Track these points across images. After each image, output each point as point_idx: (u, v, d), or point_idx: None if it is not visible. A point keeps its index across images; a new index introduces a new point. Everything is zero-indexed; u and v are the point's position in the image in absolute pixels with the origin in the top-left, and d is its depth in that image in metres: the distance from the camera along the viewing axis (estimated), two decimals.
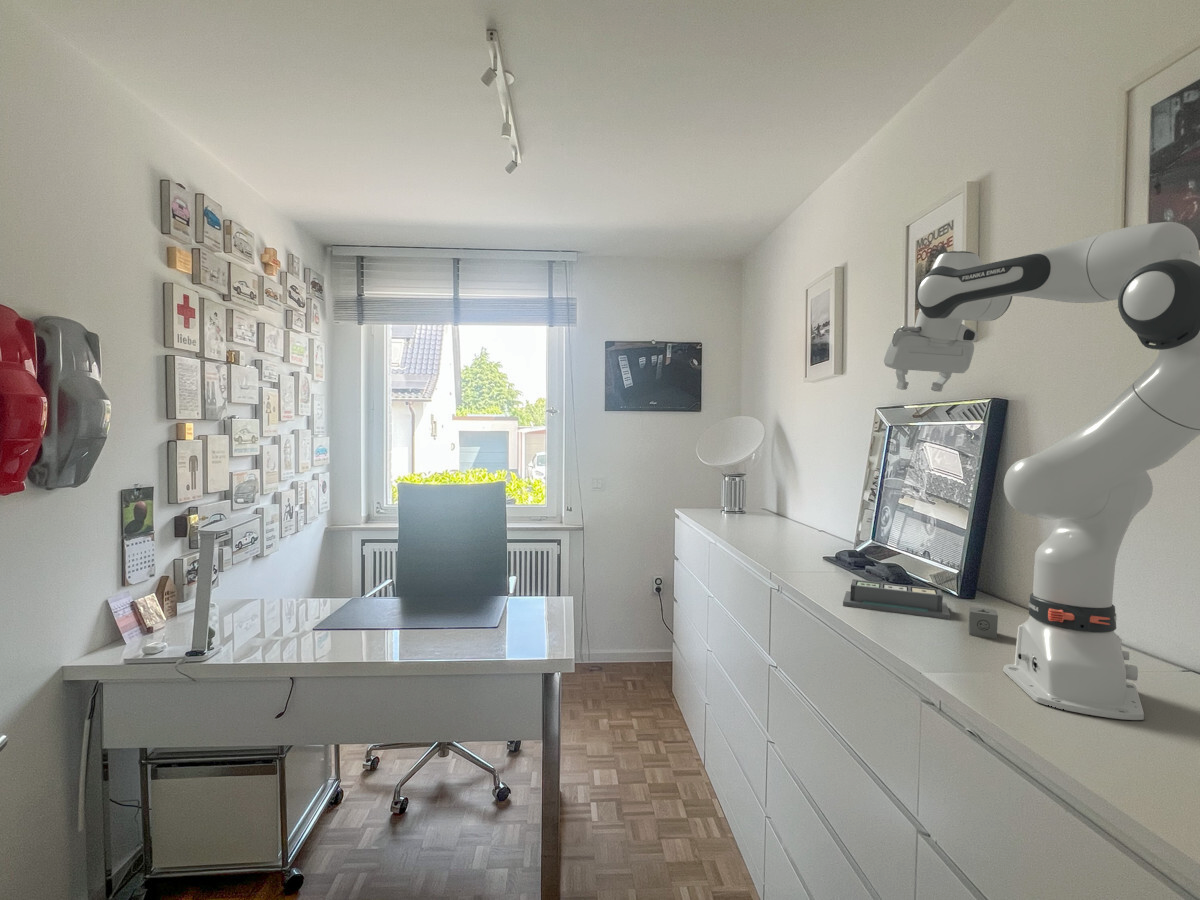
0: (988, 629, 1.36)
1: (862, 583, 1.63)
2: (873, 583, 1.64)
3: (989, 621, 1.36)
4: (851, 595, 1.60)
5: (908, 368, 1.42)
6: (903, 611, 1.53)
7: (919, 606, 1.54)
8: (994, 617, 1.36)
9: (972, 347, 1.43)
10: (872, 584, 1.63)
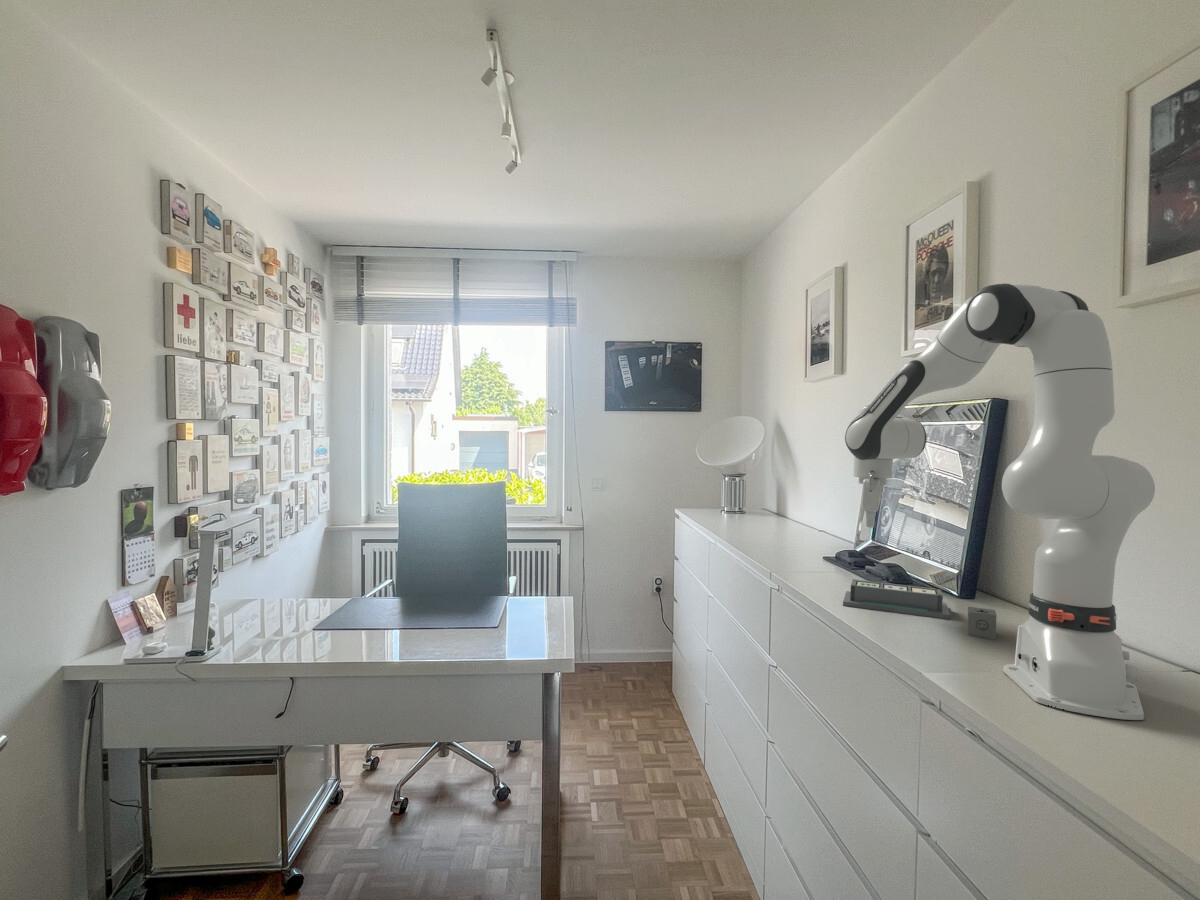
0: (986, 629, 1.36)
1: (862, 583, 1.63)
2: (873, 583, 1.64)
3: (988, 621, 1.36)
4: (851, 595, 1.60)
5: None
6: (903, 611, 1.53)
7: (919, 606, 1.54)
8: (993, 617, 1.36)
9: None
10: (872, 584, 1.63)
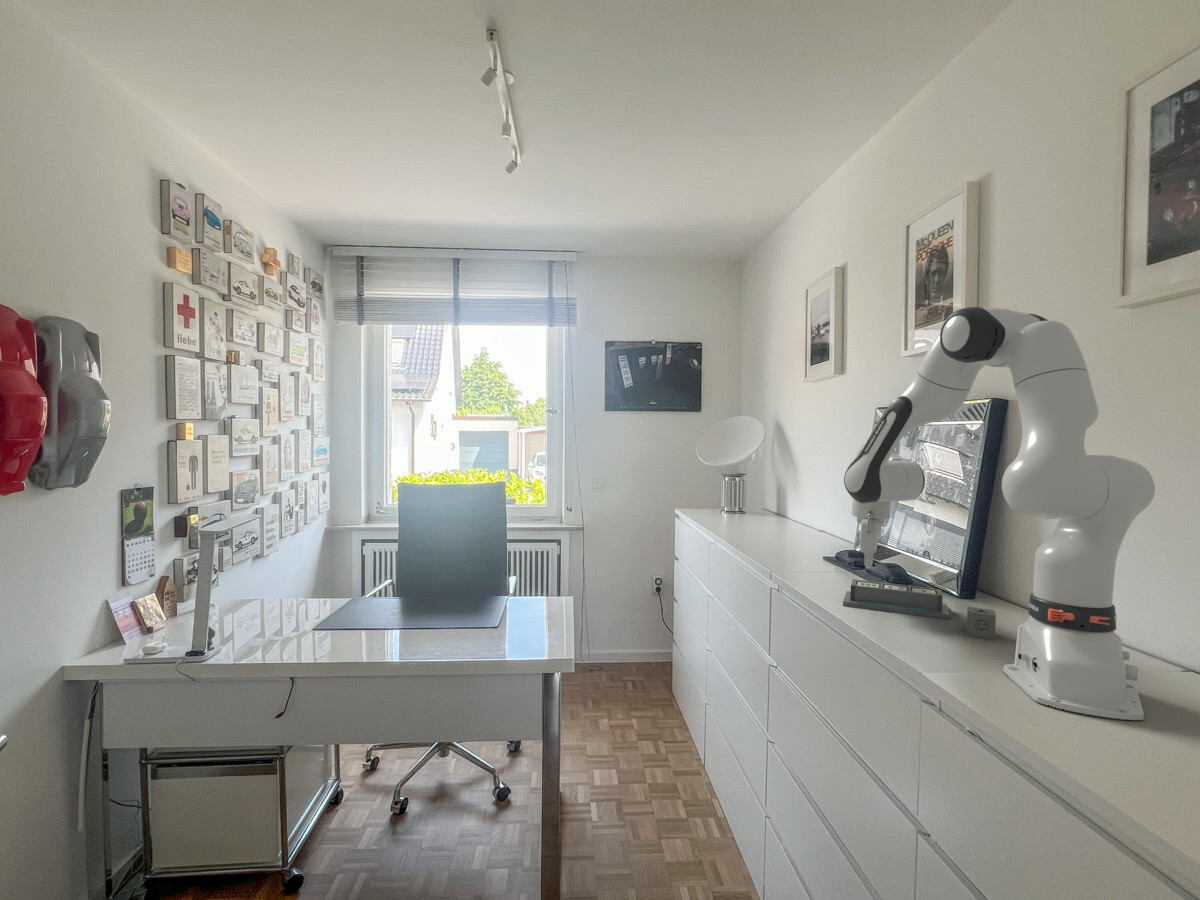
0: (986, 630, 1.36)
1: (862, 583, 1.63)
2: (873, 583, 1.64)
3: (987, 621, 1.36)
4: (851, 595, 1.60)
5: None
6: (903, 611, 1.53)
7: (919, 606, 1.54)
8: (992, 617, 1.36)
9: None
10: (872, 584, 1.63)
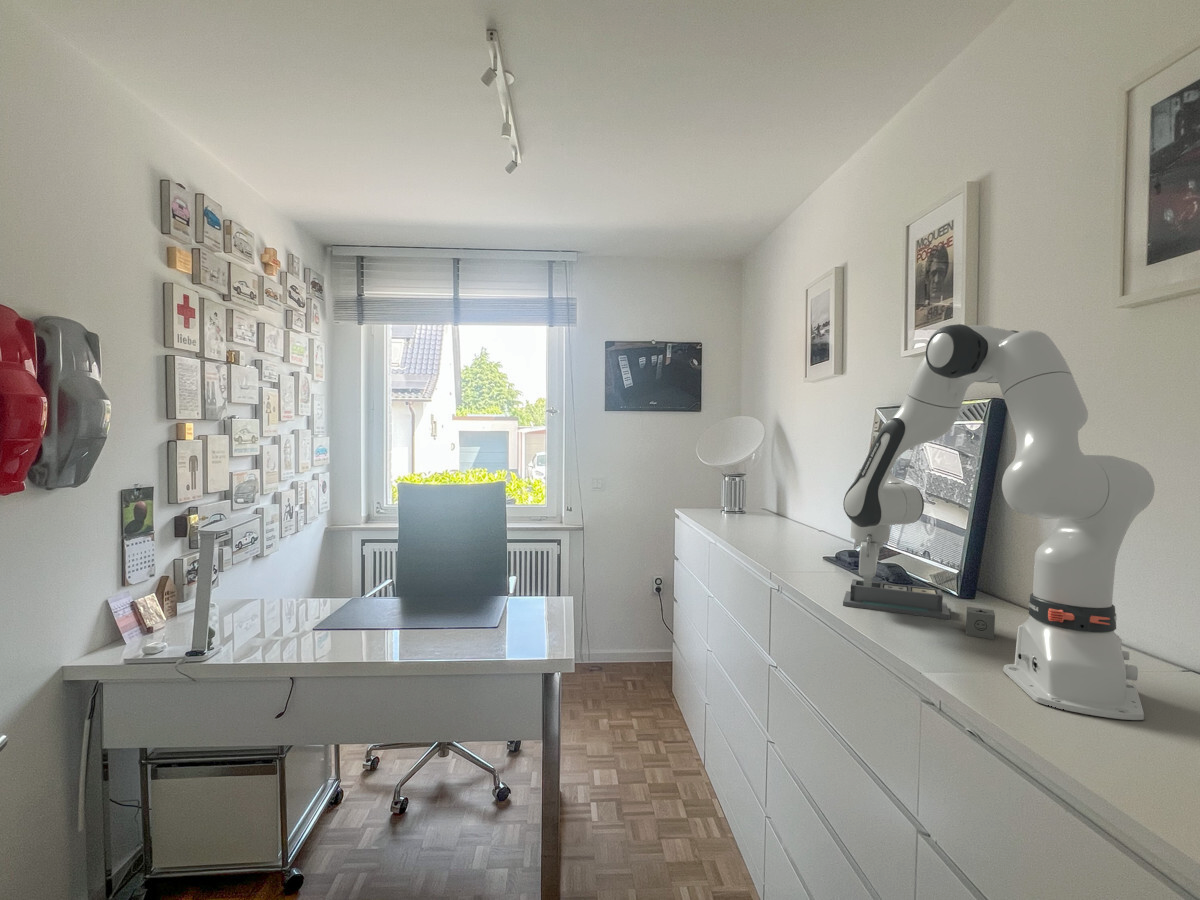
0: (985, 630, 1.36)
1: None
2: None
3: (986, 621, 1.36)
4: (851, 595, 1.60)
5: None
6: (903, 611, 1.53)
7: (919, 606, 1.54)
8: (991, 617, 1.36)
9: None
10: None
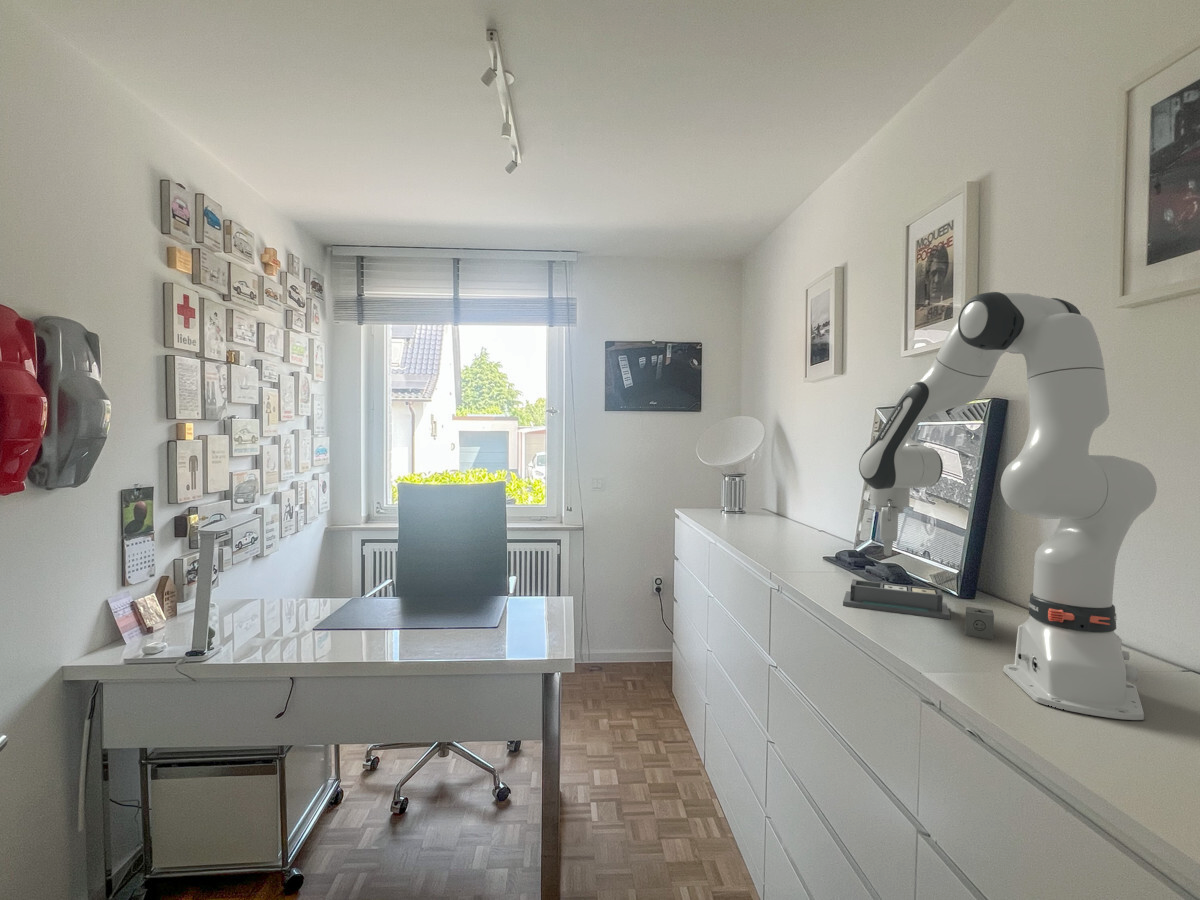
0: (984, 630, 1.36)
1: None
2: None
3: (985, 621, 1.36)
4: (851, 595, 1.60)
5: None
6: (903, 611, 1.53)
7: (919, 606, 1.54)
8: (990, 618, 1.35)
9: None
10: None
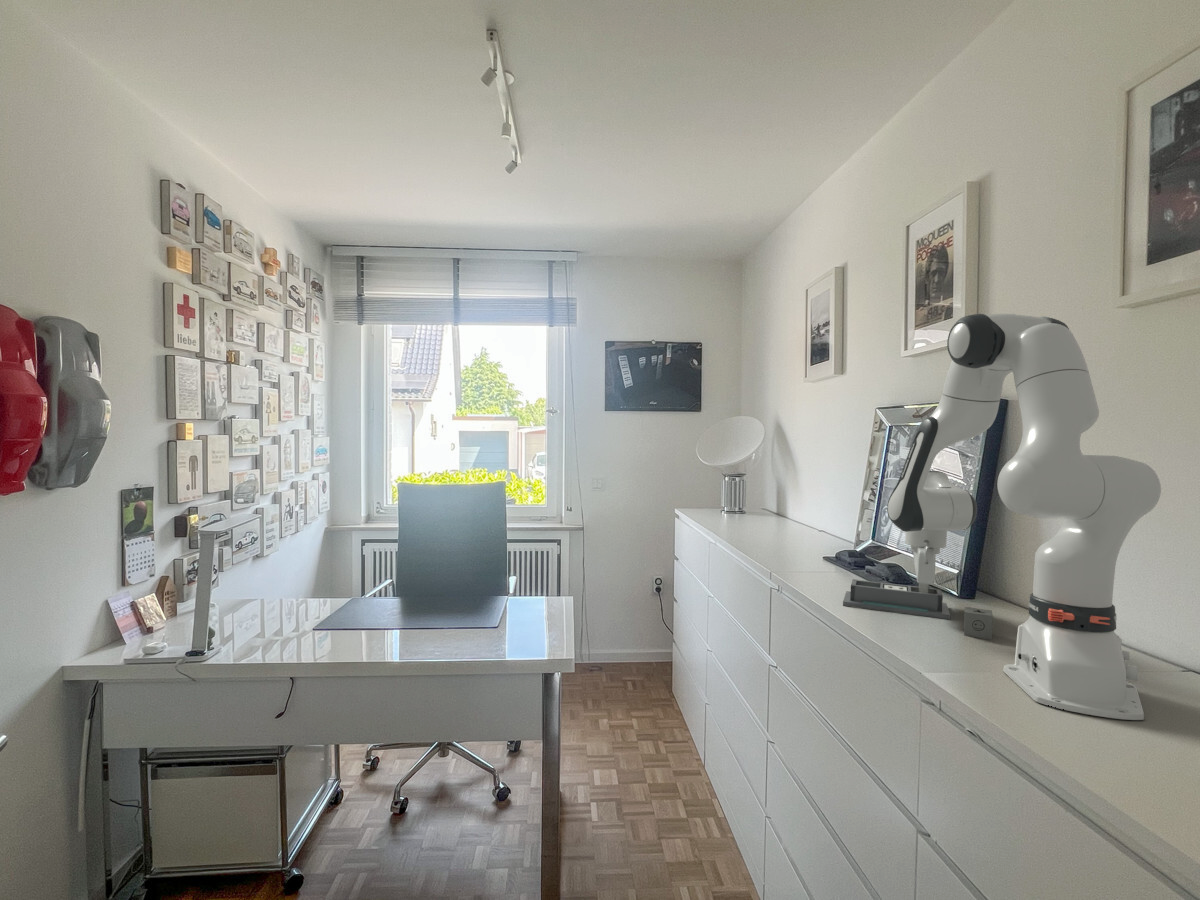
0: (983, 630, 1.36)
1: None
2: None
3: (984, 621, 1.36)
4: (851, 595, 1.60)
5: None
6: (903, 611, 1.53)
7: (919, 606, 1.54)
8: (989, 618, 1.35)
9: None
10: None
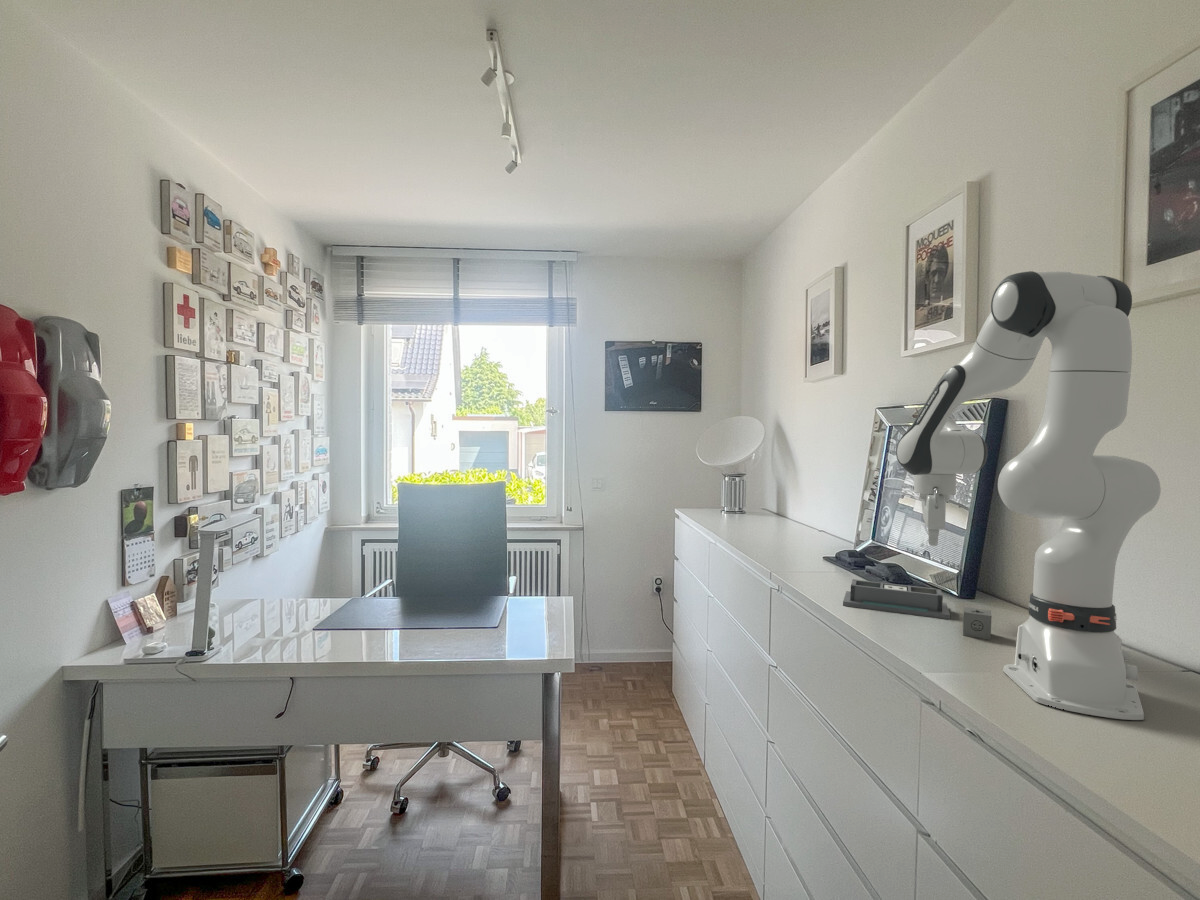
0: (981, 630, 1.36)
1: None
2: None
3: (983, 622, 1.36)
4: (851, 595, 1.60)
5: None
6: (903, 611, 1.53)
7: (919, 606, 1.54)
8: (988, 618, 1.35)
9: None
10: None
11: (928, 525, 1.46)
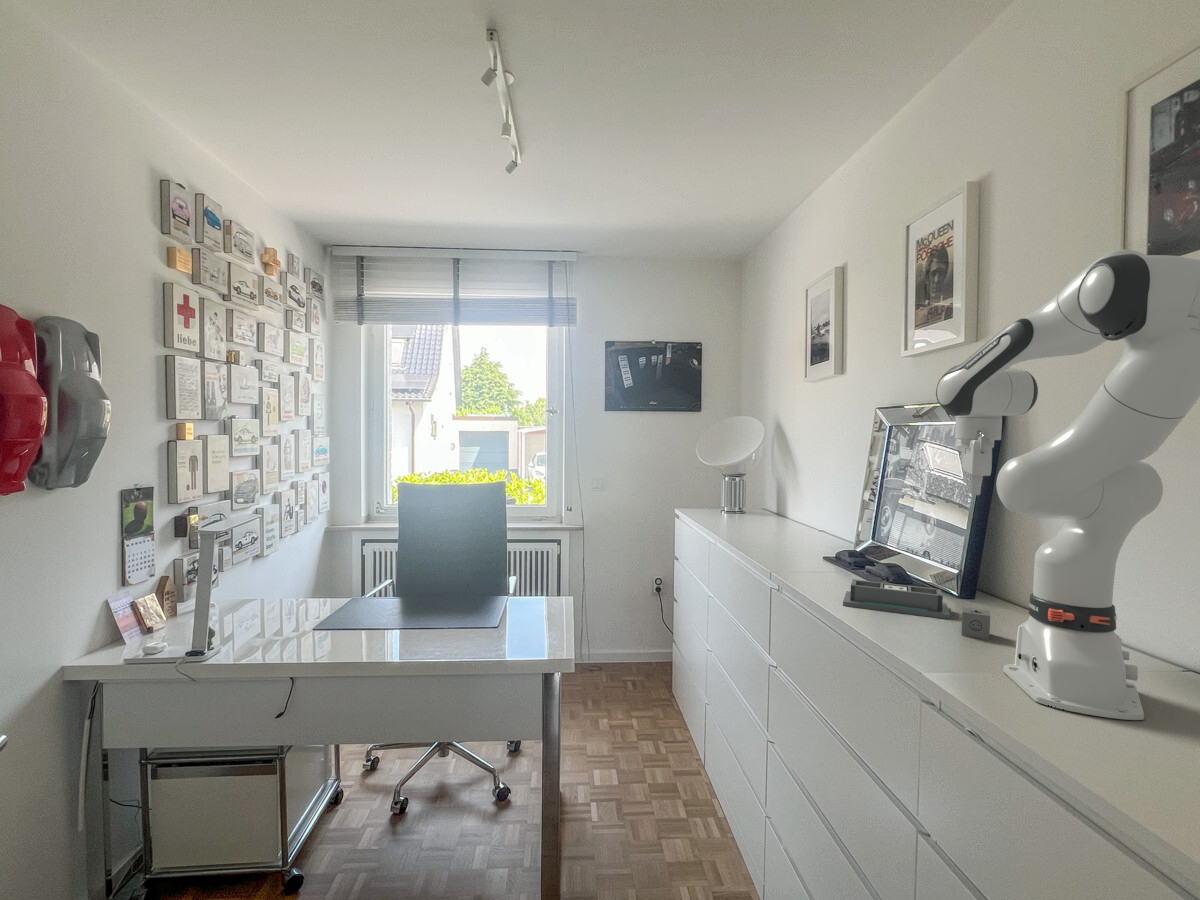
0: (980, 630, 1.36)
1: None
2: None
3: (981, 622, 1.36)
4: (851, 595, 1.60)
5: None
6: (903, 611, 1.53)
7: (919, 606, 1.54)
8: (987, 618, 1.35)
9: None
10: None
11: (973, 471, 1.35)
